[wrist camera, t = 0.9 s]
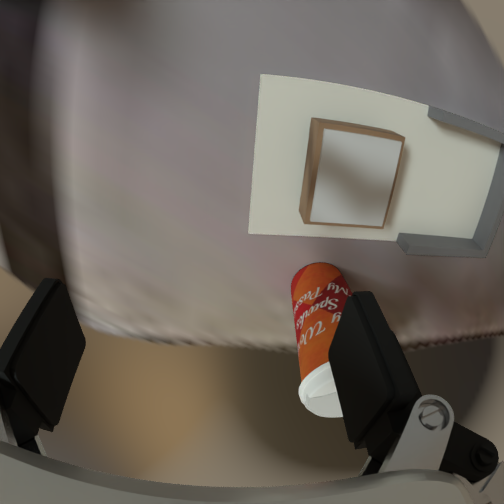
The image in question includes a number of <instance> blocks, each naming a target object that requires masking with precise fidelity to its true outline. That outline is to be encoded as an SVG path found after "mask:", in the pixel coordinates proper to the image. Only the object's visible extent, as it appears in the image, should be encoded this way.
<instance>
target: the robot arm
mask: <svg viewBox="0 0 504 504" xmlns="http://www.w3.org/2000/svg"><path fill="white" fill-rule="evenodd" d="M85 345H86V341H85V337H84V334H83V332H82V329H81V327H80V324H79V322H78V319H77V316H76V314H75V311H74V308H73V305H72V302H71V300H70V297H69V294H68V291H67V288H66V285H65V284H63V283H62V281H61V280H59V279H52V278H45V279H43V280H42V282H41V283H40V285H39V286H38V288H37V289H36V291H35V292H34V294H33V296H32V297H31V298H30V300H29V301H28V303H27V305H26V306H25V308H24V309H23V311H22V312H21V314H20V316H19V317H18V319H17V321H16V323H15V324H14V326H13V327H12V329H11V331H10V333H9V334H8V336H7V338H6V340H5V341H4V343H3V345H2V347H1V349H0V504H504V462H503V461H502V462H500V463H499V462H498V459H499V457H498V451H497V449H496V447H495V445H494V444H493V443H492V442H491V441H489V440H487V439H486V438H484V437H482V436H480V435H478V434H476V433H474V432H473V431H471V430H469V429H467V428H465V427H463V426H461V425H459V424H458V423H456V422H454V415H453V410H452V408H451V407H450V405H449V404H448V403H447V402H446V400H444V399H442V398H441V397H438V396H436V395H425V396H422V395H421V392H420V390H419V388H418V385H417V383H416V381H415V378H414V376H413V374H412V372H411V369H410V367H409V365H408V362H407V360H406V358H405V356H404V353H403V351H402V349H401V347H400V345H399V342H398V340H397V338H396V336H395V334H394V333H393V331H391V330H390V328H389V326H388V324H387V321H386V319H385V317H384V315H383V313H382V311H381V309H380V307H379V305H378V303H377V301H376V299H375V297H374V295H373V293H372V292H370V291H364V292H354V293H353V294H352V296H348V297H347V299H346V302H345V305H344V308H343V311H342V314H341V317H340V320H339V323H338V326H337V329H336V331H335V334H334V337H333V340H332V342H331V345H330V348H329V351H328V359H329V363H330V367H331V370H332V374H333V378H334V382H335V386H336V390H337V394H338V398H339V402H340V406H341V410H342V414H343V419H344V423H345V427H346V431H347V435H348V439H349V441H350V442H354V446H355V449H361V448H367V450H368V454H369V458H368V460H367V462H366V463H365V465H364V467H363V469H362V470H361V472H360V474H359V475H358V477H354V478H348V479H342V480H334V481H327V482H318V483H309V484H299V485H289V486H272V487H208V486H207V487H206V486H192V485H180V484H170V483H162V482H154V481H147V480H140V479H134V478H128V477H123V476H118V475H113V474H108V473H104V472H99V471H94V470H91V469H87V468H83V467H79V466H75V465H72V464H68V463H65V462H62V461H58V460H55V459H52V458H49V457H47V455H46V453H45V451H44V448H43V446H42V443H41V441H40V439H39V436H38V431H39V428H41V429H44V430H47V431H51V432H53V429H54V426H55V425H57V424H58V423H59V420H60V417H61V414H62V411H63V407H64V405H65V402H66V399H67V396H68V393H69V390H70V387H71V384H72V381H73V378H74V376H75V373H76V370H77V368H78V365H79V362H80V360H81V357H82V354H83V352H84V349H85Z"/></svg>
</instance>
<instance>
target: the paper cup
mask: <svg viewBox="0 0 504 504" xmlns="http://www.w3.org/2000/svg"><path fill="white" fill-rule="evenodd" d="M291 295H292V305H293V313H294V321H295V330H296V338H297V346H298V355H299V364H300V371H301V381H302V383H301V385H300V387H299V396H300V399H301V402H302V403H303V404H305V406H306V408H307V409H308V410H310V411H311V412H313V413H314V414H316V415H318V416H322V417H343V414H342V410H341V406H340V402H339V398H338V394H337V390H336V386H335V382H334V378H333V374H332V370H331V367H330V363H329V359H328V351H329V348H330V345H331V342H332V340H333V337H334V334H335V331H336V329H337V326H338V323H339V320H340V317H341V314H342V311H343V308H344V305H345V302H346V299H347V297H348V296H352V292H351V290H350V288H349V286H348V285H347V283H346V281H345V279H344V278H343V276H342V274H341V273H340V271H339V270H338V269H337V268H336V267H335V266H333V265H331V264H328V263H313V264H310V265H307V266H305V267H304V268H302V269H301V270H299V271H298V272H297V273H296V275H295V276H294V278H293V280H292V283H291Z"/></svg>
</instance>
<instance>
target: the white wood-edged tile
mask: <svg viewBox="0 0 504 504" xmlns="http://www.w3.org/2000/svg"><path fill="white" fill-rule="evenodd" d="M404 142H405V137H404V136H402V135H400V134H398V133H396V132H394V131H391V130H387V129H382V128H377V127H371V126H366V125H360V124H355V123H349V122H342V121H336V120H329V119H322V118H314V117H311V123H310V128H309V139H308V146H307V154H306V162H305V169H304V176H303V183H302V190H301V197H300V204H299V213H300V215H301V218H302V220H303V223H304V224H310V225H327V226H343V227H358V228H373V229H384V225H385V222H386V218H387V215H388V211H389V207H390V203H391V199H392V195H393V191H394V187H395V183H396V179H397V175H398V170H399V166H400V161H401V157H402V152H403V147H404Z"/></svg>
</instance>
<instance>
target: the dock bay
mask: <svg viewBox="0 0 504 504" xmlns="http://www.w3.org/2000/svg"><path fill="white" fill-rule="evenodd" d="M311 117H314V118H322V119H329V120H336V121H342V122H349V123H355V124H360V125H366V126H371V127H377V128H382V129H387V130H391V131H394V132H396V133H398V134H400V135H402V136H404V137H405V142H404V147H403V152H402V157H401V161H400V166H399V170H398V175H397V179H396V183H395V187H394V191H393V195H392V199H391V203H390V207H389V211H388V215H387V218H386V222H385V225H384V229H373V228H358V227H343V226H327V225H310V224H304V223H303V220H302V218H301V215H300V213H299V204H300V197H301V190H302V183H303V176H304V169H305V162H306V154H307V146H308V139H309V128H310V123H311ZM503 213H504V134H503V133H501V132H499V131H497V130H494V129H492V128H489V127H487V126H485V125H482V124H480V123H477V122H475V121H472V120H469V119H467V118H464V117H461V116H459V115H456V114H453V113H450V112H447V111H444V110H441V109H438V108H435V107H431V106H428V105H425V104H421V103H418V102H415V101H411V100H407V99H404V98H400V97H396V96H392V95H388V94H384V93H380V92H376V91H371V90H367V89H362V88H357V87H352V86H347V85H342V84H336V83H330V82H324V81H318V80H311V79H304V78H296V77H287V76H277V75H267V74H260V87H259V99H258V112H257V124H256V137H255V149H254V162H253V175H252V188H251V201H250V215H249V228H248V234H268V235H291V236H311V237H331V238H350V239H368V240H385V241H396V242H397V243H398V244H399V246H400V247H401V248H402V249H403V251H404V252H405V253H406V255H430V256H453V257H475V258H486V256H487V254H488V251H489V249H490V247H491V244H492V242H493V239H494V237H495V234H496V232H497V229H498V226H499V224H500V221H501V218H502V216H503Z"/></svg>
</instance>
